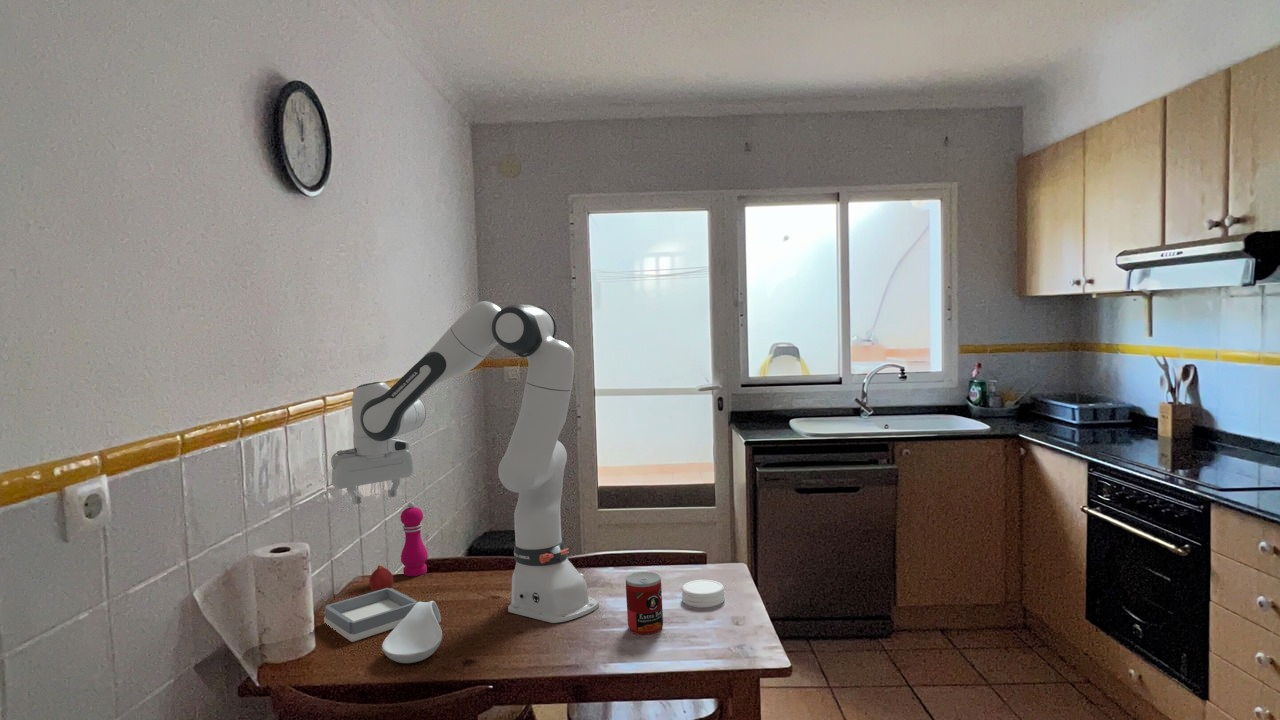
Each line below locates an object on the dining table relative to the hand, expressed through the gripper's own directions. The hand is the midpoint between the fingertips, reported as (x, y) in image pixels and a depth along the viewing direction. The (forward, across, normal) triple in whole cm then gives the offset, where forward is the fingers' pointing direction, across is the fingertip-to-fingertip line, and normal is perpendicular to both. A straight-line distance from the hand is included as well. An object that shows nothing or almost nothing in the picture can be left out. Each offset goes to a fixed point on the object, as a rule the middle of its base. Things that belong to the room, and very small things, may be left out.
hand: (374, 500), depth 183 cm
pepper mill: (+25, +15, +9) cm, 30 cm away
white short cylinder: (+23, +48, -68) cm, 86 cm away
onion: (+25, +1, -1) cm, 25 cm away
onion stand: (+24, -9, -15) cm, 30 cm away
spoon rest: (+24, -8, -36) cm, 44 cm away
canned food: (+23, +28, -68) cm, 77 cm away
